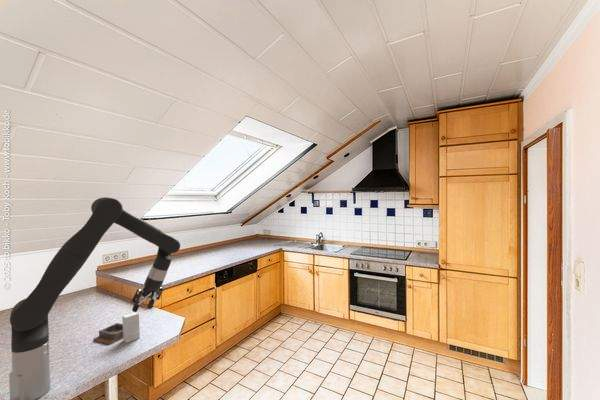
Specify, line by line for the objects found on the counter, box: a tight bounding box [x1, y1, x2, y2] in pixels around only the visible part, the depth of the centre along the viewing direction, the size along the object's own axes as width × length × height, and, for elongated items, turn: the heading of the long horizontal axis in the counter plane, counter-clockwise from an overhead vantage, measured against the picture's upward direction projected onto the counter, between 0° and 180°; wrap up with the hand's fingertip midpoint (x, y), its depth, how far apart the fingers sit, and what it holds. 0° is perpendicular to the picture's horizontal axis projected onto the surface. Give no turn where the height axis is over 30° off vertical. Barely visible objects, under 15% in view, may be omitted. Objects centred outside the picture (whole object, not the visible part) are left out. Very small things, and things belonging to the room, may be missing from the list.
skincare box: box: [121, 311, 141, 344], centre depth 130 cm, size 6×4×12 cm
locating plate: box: [93, 322, 123, 346], centre depth 134 cm, size 14×11×4 cm
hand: (141, 309), depth 126 cm, fingers open, 8 cm apart
